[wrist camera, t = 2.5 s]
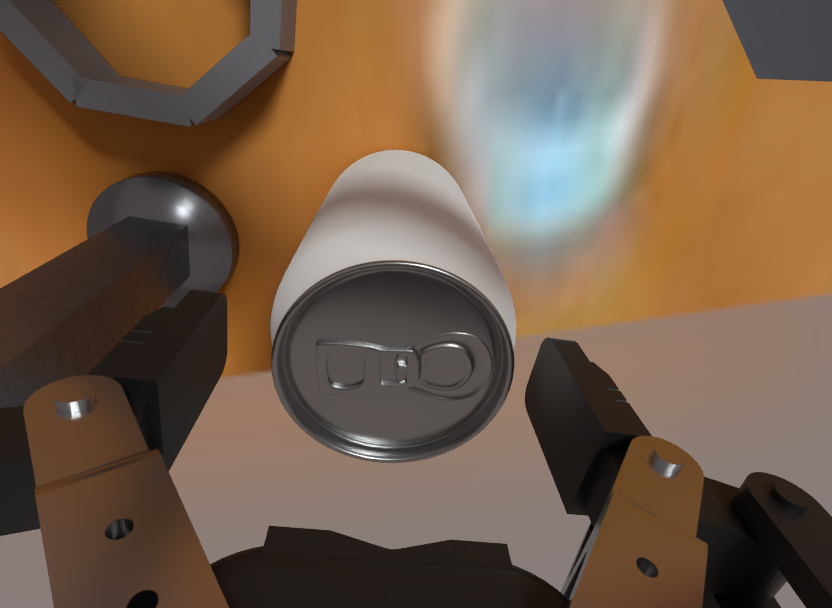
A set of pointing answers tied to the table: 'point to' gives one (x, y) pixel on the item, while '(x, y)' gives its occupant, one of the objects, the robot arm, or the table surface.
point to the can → (393, 316)
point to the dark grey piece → (112, 279)
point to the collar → (107, 91)
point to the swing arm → (785, 37)
